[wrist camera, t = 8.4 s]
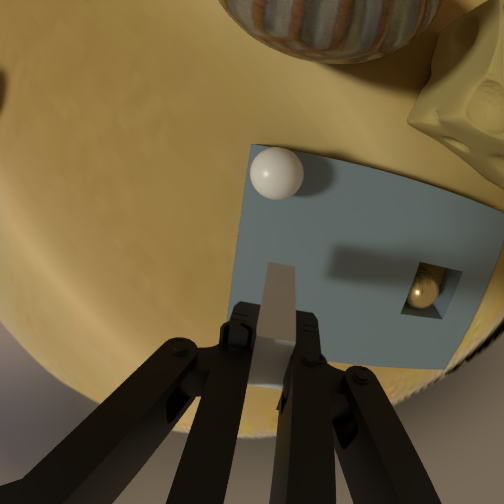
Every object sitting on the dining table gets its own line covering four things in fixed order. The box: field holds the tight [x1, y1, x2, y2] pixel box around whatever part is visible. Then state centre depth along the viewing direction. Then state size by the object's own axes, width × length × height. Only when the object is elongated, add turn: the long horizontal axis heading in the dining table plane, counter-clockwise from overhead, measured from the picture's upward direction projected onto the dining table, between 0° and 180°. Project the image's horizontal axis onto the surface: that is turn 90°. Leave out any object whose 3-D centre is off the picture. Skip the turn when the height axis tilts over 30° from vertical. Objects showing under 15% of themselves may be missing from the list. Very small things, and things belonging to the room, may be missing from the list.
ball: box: [406, 270, 439, 309], centre depth 21 cm, size 3×3×3 cm
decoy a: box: [250, 147, 304, 200], centre depth 17 cm, size 3×3×3 cm
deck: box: [227, 144, 504, 370], centre depth 21 cm, size 16×22×2 cm
